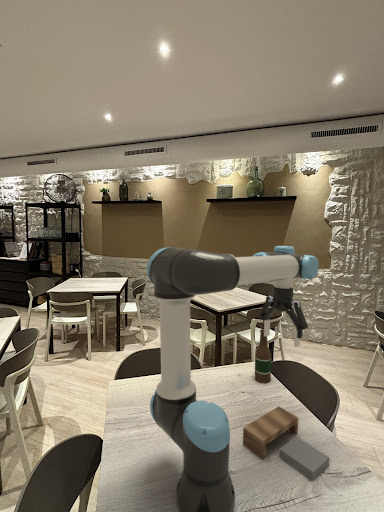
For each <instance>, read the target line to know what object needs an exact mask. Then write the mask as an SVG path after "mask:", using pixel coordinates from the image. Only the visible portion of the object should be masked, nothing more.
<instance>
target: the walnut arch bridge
mask: <svg viewBox="0 0 384 512" xmlns="http://www.w3.org/2000/svg"><path fill="white" fill-rule="evenodd" d="M242 429H243V430H242V432H243V433H242V445H243V446H245V447H246V448H247V449H249V450H250V451H251V452H253V453H254V454H255V455H257V457H259V458H260V459H261V460H264V459H265V458H266V457H267V455H266V454H267V445H268V444H269V443H271V442H272V441H274V440H275V439H276V438H278V437H279V436H281V435H282V434H283V433H286V434H290V433H291V434H293V435H295V436H296V435H297V434H299V416H296V415H295V414H293V413H292V412H290V411H288V410H287V409H284V408H283V407H281V406H277V407H275V408H274V409H272V410H270V411H267V413H265V414H263V415H262V416H260V417H259V418H257V419H255V420H253V421H252V422H250V423H248V424H247V425H245V426H243V428H242Z"/></svg>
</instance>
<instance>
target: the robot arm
mask: <svg viewBox="0 0 384 512" xmlns="http://www.w3.org/2000/svg"><path fill="white" fill-rule="evenodd" d="M295 251H296V250H295V247H294V246H291V245H277V246H274V249H273V251H260V252H257V253H256V252H255V253H254V254H253V255H252V256H235V255H233V254H230V253H217V252H211V251H205V250H198V249H193V248H191V249H189V248H183V247H176V246H175V247H173V246H170V247H162V248H159V249H158V250H156V251H155V252H153V254H152V255H151V256H150V257H149V259H148V261H147V265H146V275H147V278H148V280H149V281H150V283H151V284H152V285H153V297H154V299H155V300H157V301H158V302H159V326H160V327H159V334H160V336H159V337H160V379H161V381H160V382H158V384H156V388H155V390H154V394H153V395H152V396H151V397H150V403H149V410H150V415H151V417H152V419H153V420H154V422H155V424H156V425H157V426H158V427H159V428H160V429H161V430H162V431H163V432H165V433H166V435H167V436H168V437H169V438H170V439H171V440H172V442H174V444H176V445H177V447H178V448H179V449H180V450H181V451H182V454H183V455H182V457H183V462H182V463H183V469H182V472H181V474H180V479H179V480H178V483H177V487H176V492H175V493H176V496H175V497H176V506H177V508H178V511H179V512H234V509H235V505H236V491H235V486H234V484H233V481H232V479H231V475H230V471H229V470H230V469H229V468H230V467H229V466H230V465H229V464H230V463H229V462H230V441H231V430H230V422H229V418H228V415H227V412H226V411H225V410H224V409H223V408H222V407H221V406H220V405H218V404H217V403H215V402H212V401H210V402H208V401H207V400H197V386H196V383H195V382H194V381H193V380H192V379H191V378H192V373H191V370H192V369H191V366H192V365H191V364H192V363H191V357H192V356H191V300H193V299H194V298H195V296H198V295H209V294H215V293H221V292H228V291H232V290H235V289H236V288H237V287H238V286H243V285H252V284H261V283H267V282H272V285H273V287H272V295H267V296H266V297H265V301H264V304H263V306H262V308H261V310H260V312H259V314H258V316H259V318H262V327H263V329H264V336H265V337H266V336H267V337H268V336H270V334H271V319H269V318H270V317H271V316H272V315H273V314H274V313H275V312H276V311H281V312H285V313H286V314H287V315H288V316H289V318H290V319H291V321H292V323H293V325H294V326H295V327H296V328H295V329H294V337H293V338H294V339H293V340H294V342H293V343H294V344H293V345H294V346H293V347H294V348H297V347H301V339H302V338H303V335H304V334H303V332H304V331H303V330H306V329H308V328H309V324H308V322H307V320H306V317H305V315H304V312H303V309H302V306H301V305H302V304H301V301H294V300H293V299H294V286H295V285H294V281H295V279H302V280H312V279H315V278H316V277H317V275H318V272H319V268H320V265H319V264H320V263H319V259H318V258H317V257H316V256H314V255H311V254H310V255H309V254H297V253H296V252H295ZM295 253H296V254H295ZM272 303H273V305H272ZM271 305H272V306H271ZM270 306H271V307H270Z"/></svg>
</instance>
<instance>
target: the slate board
mask: <svg viewBox="0 0 384 512" xmlns="http://www.w3.org/2000/svg"><path fill="white" fill-rule="evenodd" d="M279 458H281V460H283V461H285V462H286V463H287V464H289V465H290V466H291V467H292V468H294V469H296V470H297V471H298V472H300V473H301V474H303V476H306V478H307V479H309V480H311V481H314V480H315V479H317V477H319V476H320V474H321V473H323V472H324V471H325V469H327V468H328V467H329V466H330V456H328V455H327V454H325V453H324V452H322V451H320V450H319V449H317V448H315V447H314V446H312V445H311V444H310V443H308V442H305V440H303V439H301V438H299V437H298V436H295V437H293V439H291V440H290V441H288V442H287V443H286V444H284V445H283V446H281V447H280V448H279Z"/></svg>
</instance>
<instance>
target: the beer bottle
mask: <svg viewBox="0 0 384 512" xmlns="http://www.w3.org/2000/svg"><path fill="white" fill-rule="evenodd" d="M259 333H260V335H259V344H258V346H257V347H256V350H255V352H254V353H255V355H254V380H255V381H256V382H258V383H260V384H267V383H270V382H271V380H272V379H271V378H272V353H271V349H270V348H269V346H268V336H266V337H265V336H264V328H261V329H260V330H259Z"/></svg>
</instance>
